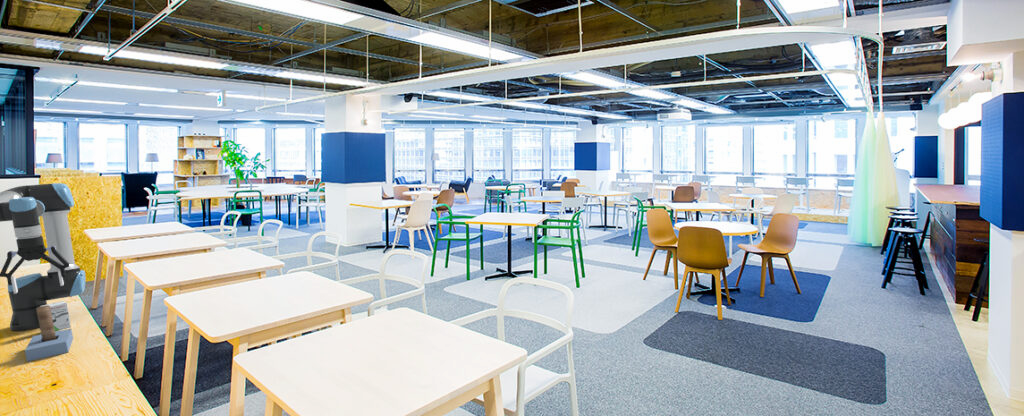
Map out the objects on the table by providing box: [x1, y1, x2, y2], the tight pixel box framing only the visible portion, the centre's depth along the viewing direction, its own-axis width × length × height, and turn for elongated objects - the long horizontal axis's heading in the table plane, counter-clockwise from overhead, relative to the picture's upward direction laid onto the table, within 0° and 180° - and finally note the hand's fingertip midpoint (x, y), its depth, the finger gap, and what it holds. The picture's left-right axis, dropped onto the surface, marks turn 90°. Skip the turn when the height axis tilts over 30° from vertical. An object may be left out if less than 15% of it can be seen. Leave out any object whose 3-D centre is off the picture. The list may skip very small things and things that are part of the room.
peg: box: [36, 305, 56, 342], centre depth 201 cm, size 4×4×18 cm
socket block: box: [24, 328, 74, 362], centre depth 202 cm, size 18×12×4 cm, turn 37°
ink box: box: [40, 300, 72, 332], centre depth 224 cm, size 9×5×12 cm, turn 147°
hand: (39, 288), depth 199 cm, fingers open, 13 cm apart
